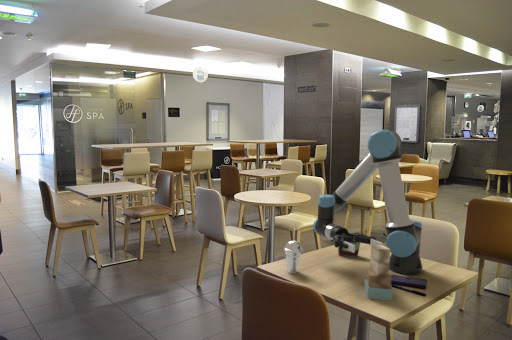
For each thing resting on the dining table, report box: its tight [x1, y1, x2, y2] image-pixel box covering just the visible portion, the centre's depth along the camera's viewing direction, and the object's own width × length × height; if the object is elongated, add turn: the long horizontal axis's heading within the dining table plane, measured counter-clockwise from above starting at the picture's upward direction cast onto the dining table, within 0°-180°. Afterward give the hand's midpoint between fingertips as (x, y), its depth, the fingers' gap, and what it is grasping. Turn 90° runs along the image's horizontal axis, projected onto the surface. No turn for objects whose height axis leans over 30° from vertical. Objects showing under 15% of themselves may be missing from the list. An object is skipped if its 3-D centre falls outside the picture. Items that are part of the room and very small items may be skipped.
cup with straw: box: [283, 223, 304, 274], centre depth 175 cm, size 8×9×20 cm
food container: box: [337, 239, 361, 258], centre depth 203 cm, size 12×6×10 cm, turn 77°
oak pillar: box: [369, 244, 391, 275], centre depth 154 cm, size 5×5×10 cm
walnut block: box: [366, 267, 392, 289], centre depth 154 cm, size 8×8×4 cm
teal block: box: [364, 278, 394, 301], centre depth 155 cm, size 9×9×4 cm
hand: (368, 247), depth 159 cm, fingers open, 13 cm apart
